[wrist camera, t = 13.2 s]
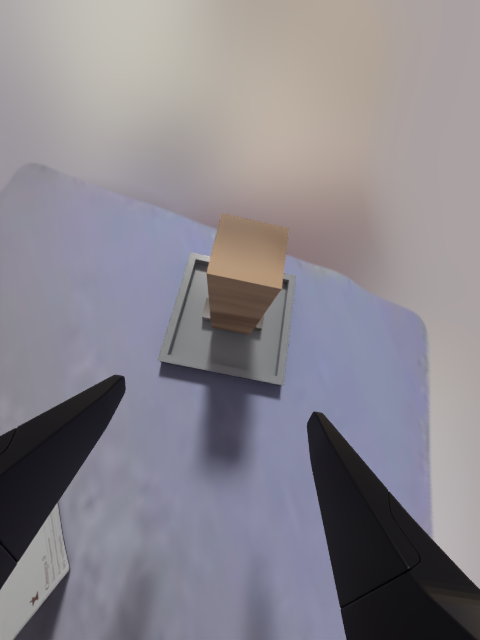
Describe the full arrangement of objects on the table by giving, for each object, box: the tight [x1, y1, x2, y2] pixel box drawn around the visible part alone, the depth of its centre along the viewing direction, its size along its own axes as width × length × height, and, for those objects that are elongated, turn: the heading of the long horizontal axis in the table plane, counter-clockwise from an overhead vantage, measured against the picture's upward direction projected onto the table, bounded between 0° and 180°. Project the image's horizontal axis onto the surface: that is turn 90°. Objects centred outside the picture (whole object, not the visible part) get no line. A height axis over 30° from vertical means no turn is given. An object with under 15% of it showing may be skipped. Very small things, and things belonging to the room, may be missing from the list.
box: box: [158, 252, 296, 385], centre depth 24 cm, size 14×14×2 cm
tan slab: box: [202, 213, 289, 335], centre depth 19 cm, size 4×7×13 cm, turn 80°
